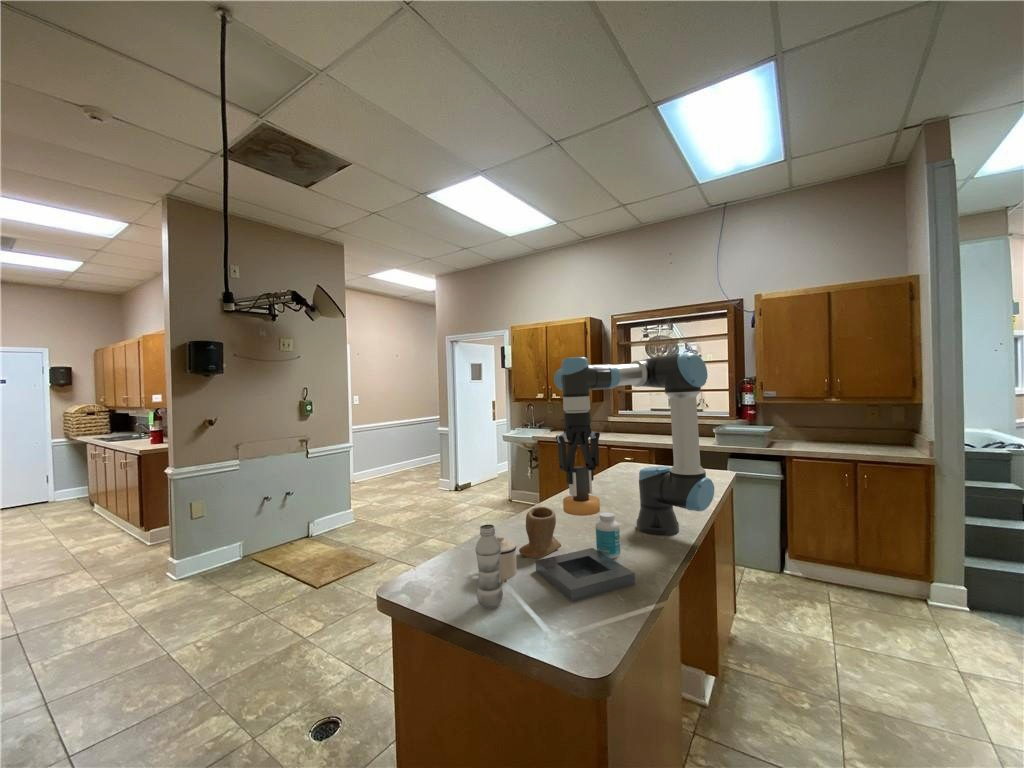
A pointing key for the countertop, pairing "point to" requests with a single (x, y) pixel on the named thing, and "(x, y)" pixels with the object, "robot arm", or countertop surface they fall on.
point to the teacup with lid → (507, 559)
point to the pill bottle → (608, 536)
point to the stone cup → (540, 533)
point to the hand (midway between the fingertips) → (580, 493)
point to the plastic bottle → (488, 568)
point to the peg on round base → (581, 496)
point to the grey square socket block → (584, 574)
